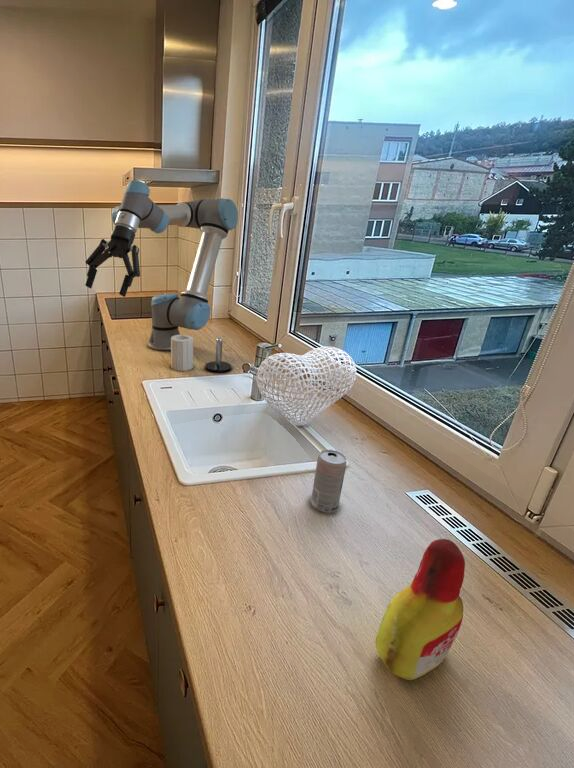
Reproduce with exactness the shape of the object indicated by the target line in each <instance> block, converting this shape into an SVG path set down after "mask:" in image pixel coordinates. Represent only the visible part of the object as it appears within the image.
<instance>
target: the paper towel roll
mask: <svg viewBox="0 0 574 768" xmlns="http://www.w3.org/2000/svg"><path fill="white" fill-rule="evenodd" d="M193 367H194V336H192V335H190V334H180V335H175V336H172V337H171V350H170V368H171V369H172V370H173V371H178V372H187V371H190V370H192V369H193Z"/></svg>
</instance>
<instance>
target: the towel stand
mask: <svg viewBox="0 0 574 768" xmlns="http://www.w3.org/2000/svg"><path fill="white" fill-rule="evenodd" d="M215 341H216V342H215V343H216V344H215V360H214V361H209V362H206V364H205V367H204V368H205V371H207V372H209V373H212V374H226V373H229V372H231V371H232V364H231V363H229V362H227V361H222V360H223V338H221V337H218V338H216V340H215Z"/></svg>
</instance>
